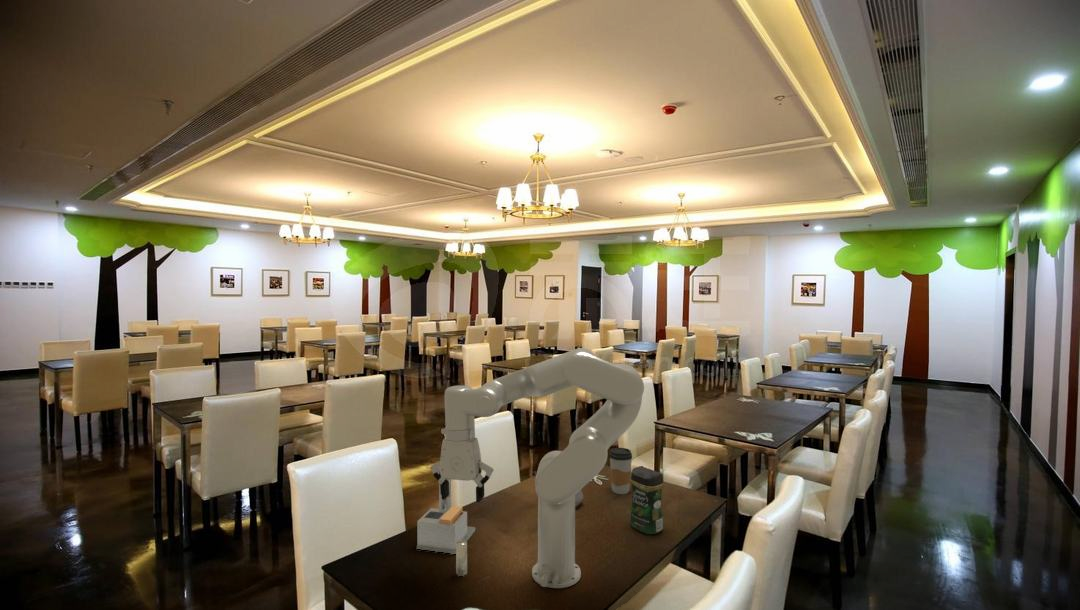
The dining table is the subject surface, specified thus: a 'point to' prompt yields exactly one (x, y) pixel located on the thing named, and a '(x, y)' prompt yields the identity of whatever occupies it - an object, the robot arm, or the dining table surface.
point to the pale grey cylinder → (461, 558)
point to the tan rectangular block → (451, 515)
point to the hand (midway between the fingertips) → (462, 498)
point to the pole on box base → (442, 528)
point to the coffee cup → (620, 470)
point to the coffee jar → (646, 500)
